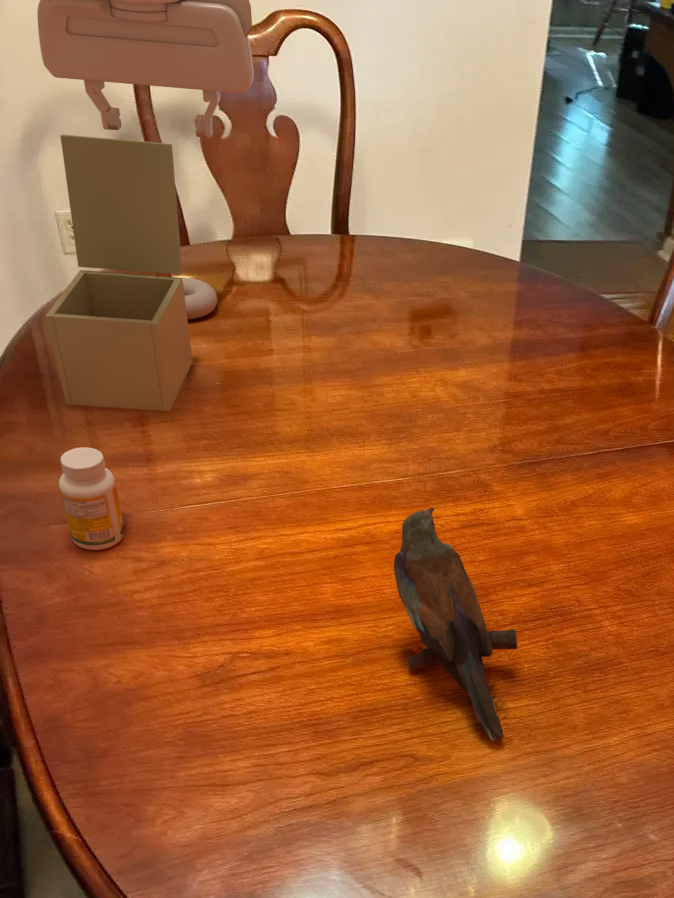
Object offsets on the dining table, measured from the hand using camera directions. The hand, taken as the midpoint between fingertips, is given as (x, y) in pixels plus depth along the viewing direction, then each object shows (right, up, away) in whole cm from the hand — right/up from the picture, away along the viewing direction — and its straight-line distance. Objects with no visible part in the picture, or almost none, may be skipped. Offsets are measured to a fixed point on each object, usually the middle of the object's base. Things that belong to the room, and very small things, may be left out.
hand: (159, 132), depth 100 cm
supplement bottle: (-7, -42, +1) cm, 43 cm away
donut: (-11, -4, +43) cm, 44 cm away
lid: (-10, -1, +15) cm, 18 cm away
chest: (-11, -21, +23) cm, 34 cm away
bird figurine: (+32, -56, -9) cm, 65 cm away
